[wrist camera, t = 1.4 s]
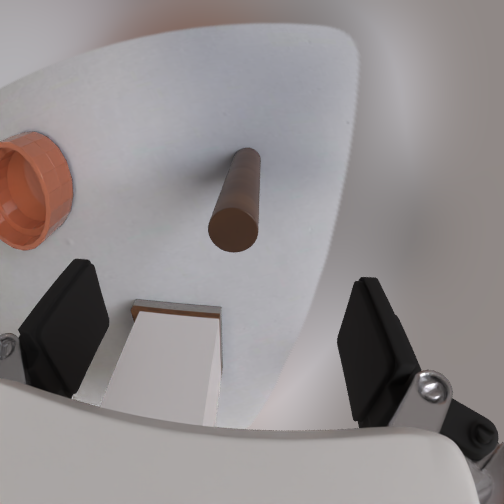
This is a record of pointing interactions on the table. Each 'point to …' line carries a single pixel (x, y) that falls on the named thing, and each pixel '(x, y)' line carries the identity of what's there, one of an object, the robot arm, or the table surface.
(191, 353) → the striped white pedestal
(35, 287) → the table surface
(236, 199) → the stick
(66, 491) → the robot arm
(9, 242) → the bowl
